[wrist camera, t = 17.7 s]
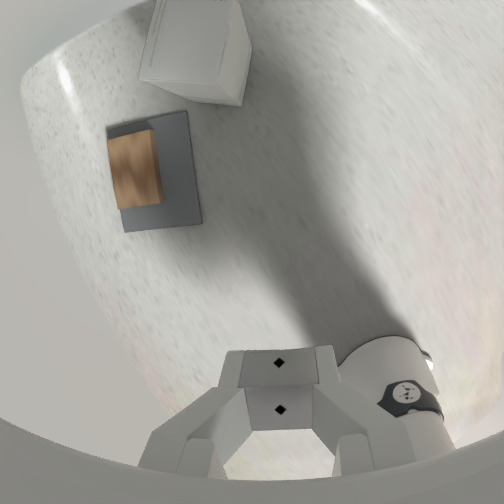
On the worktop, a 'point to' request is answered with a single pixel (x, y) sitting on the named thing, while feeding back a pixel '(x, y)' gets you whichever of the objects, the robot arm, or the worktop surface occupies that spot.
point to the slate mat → (166, 176)
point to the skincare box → (198, 50)
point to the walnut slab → (135, 169)
